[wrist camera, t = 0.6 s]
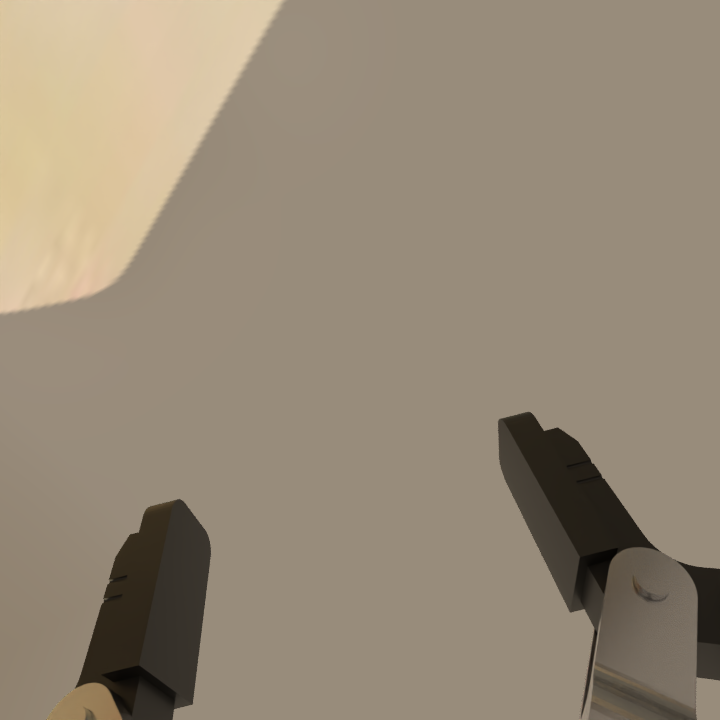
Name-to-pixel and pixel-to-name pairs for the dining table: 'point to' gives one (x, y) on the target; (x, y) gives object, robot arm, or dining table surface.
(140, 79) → the dining table surface
